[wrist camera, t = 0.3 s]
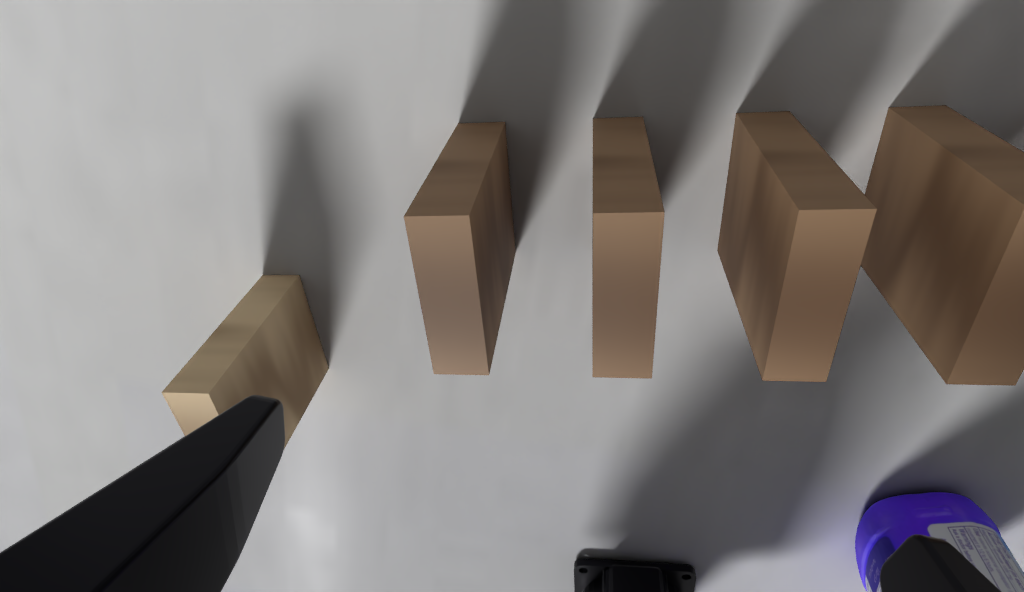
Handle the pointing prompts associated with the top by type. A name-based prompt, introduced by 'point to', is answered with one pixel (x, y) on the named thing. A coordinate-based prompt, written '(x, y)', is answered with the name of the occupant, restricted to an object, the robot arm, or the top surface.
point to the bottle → (937, 519)
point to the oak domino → (254, 358)
